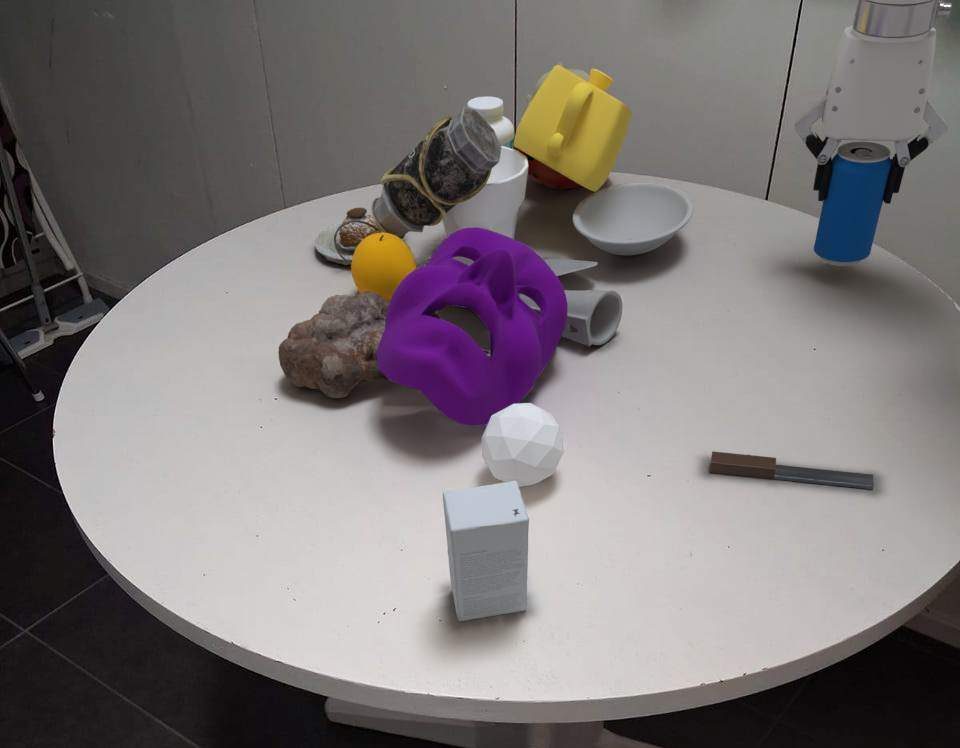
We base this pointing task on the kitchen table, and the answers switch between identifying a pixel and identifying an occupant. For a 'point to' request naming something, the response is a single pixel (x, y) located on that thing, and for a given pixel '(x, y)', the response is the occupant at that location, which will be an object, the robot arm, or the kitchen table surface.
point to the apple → (381, 264)
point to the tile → (568, 265)
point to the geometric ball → (522, 444)
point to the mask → (494, 298)
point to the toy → (539, 169)
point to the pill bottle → (494, 118)
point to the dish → (632, 217)
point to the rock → (337, 344)
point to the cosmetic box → (487, 549)
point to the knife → (784, 471)
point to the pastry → (345, 236)
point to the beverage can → (852, 203)
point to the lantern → (436, 175)
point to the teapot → (575, 126)
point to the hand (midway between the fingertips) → (853, 196)
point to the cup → (493, 200)
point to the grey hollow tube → (588, 315)
